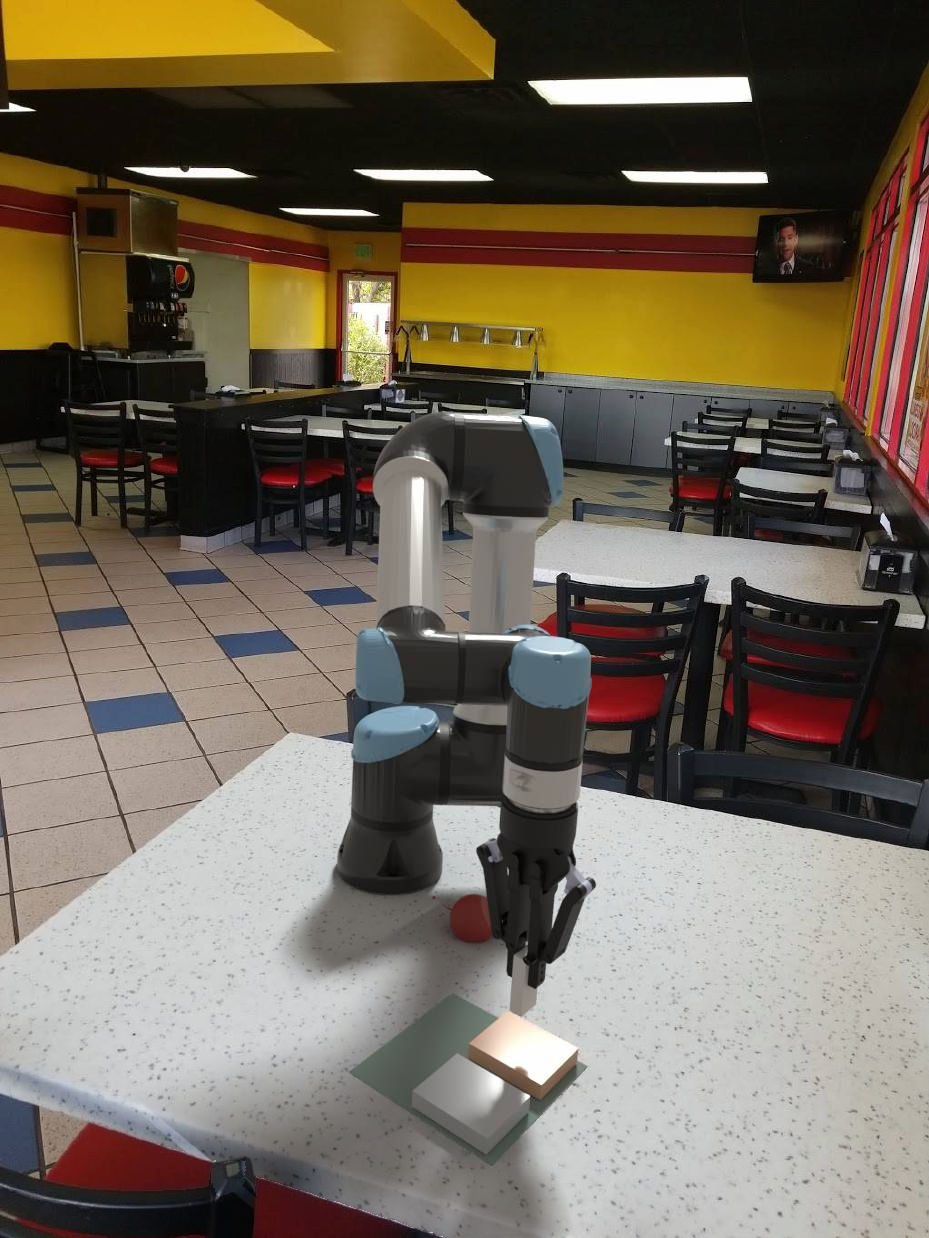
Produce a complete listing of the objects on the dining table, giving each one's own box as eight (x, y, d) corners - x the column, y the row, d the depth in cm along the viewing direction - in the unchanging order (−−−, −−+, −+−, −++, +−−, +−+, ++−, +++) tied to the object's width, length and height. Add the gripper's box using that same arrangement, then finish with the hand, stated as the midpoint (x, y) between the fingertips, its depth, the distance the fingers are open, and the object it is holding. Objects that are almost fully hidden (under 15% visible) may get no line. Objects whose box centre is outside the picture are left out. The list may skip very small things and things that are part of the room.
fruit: (462, 934, 127) (435, 884, 125) (501, 919, 125) (474, 868, 124) (456, 961, 121) (427, 909, 119) (497, 946, 119) (468, 893, 118)
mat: (348, 1076, 97) (348, 1071, 97) (452, 997, 110) (452, 992, 110) (491, 1170, 87) (491, 1165, 87) (587, 1070, 100) (587, 1066, 100)
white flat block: (412, 1090, 92) (487, 1138, 87) (457, 1053, 98) (530, 1096, 93) (411, 1107, 93) (486, 1156, 88) (456, 1069, 98) (528, 1112, 93)
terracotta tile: (469, 1043, 99) (541, 1084, 94) (507, 1010, 105) (578, 1048, 100) (467, 1059, 100) (540, 1101, 95) (506, 1025, 105) (576, 1064, 100)
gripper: (463, 788, 94) (450, 997, 100) (577, 832, 86) (556, 1055, 92) (507, 766, 99) (493, 965, 105) (618, 805, 92) (596, 1017, 98)
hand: (522, 1007), depth 99 cm, fingers closed
